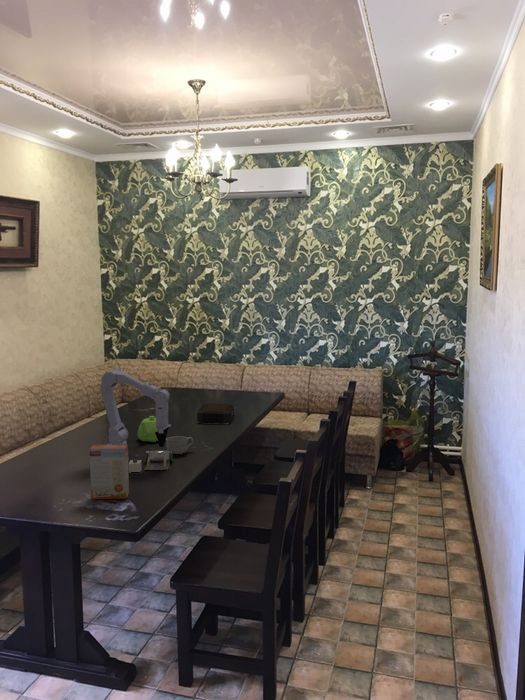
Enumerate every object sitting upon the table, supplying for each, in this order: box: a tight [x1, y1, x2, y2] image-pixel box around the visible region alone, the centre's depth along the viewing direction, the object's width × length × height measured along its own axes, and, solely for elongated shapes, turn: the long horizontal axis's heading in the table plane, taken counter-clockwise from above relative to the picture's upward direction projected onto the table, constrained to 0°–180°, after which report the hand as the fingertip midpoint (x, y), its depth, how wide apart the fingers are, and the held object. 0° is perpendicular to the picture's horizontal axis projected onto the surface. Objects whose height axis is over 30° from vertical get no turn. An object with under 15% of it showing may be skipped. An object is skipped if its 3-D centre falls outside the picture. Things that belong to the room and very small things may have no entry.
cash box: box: [196, 403, 235, 423], centre depth 361 cm, size 25×20×8 cm
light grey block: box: [128, 458, 143, 474], centre depth 264 cm, size 5×5×6 cm
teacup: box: [165, 435, 194, 455], centre depth 291 cm, size 14×11×8 cm
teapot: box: [137, 415, 158, 443], centre depth 313 cm, size 22×15×13 cm
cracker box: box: [89, 444, 130, 500], centre depth 232 cm, size 14×6×21 cm, turn 92°
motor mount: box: [144, 450, 174, 470], centre depth 272 cm, size 13×15×6 cm
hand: (162, 444), depth 273 cm, fingers open, 7 cm apart
